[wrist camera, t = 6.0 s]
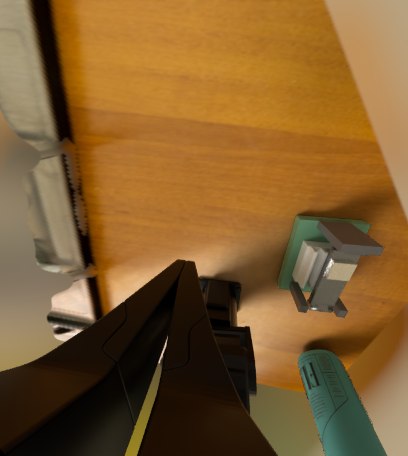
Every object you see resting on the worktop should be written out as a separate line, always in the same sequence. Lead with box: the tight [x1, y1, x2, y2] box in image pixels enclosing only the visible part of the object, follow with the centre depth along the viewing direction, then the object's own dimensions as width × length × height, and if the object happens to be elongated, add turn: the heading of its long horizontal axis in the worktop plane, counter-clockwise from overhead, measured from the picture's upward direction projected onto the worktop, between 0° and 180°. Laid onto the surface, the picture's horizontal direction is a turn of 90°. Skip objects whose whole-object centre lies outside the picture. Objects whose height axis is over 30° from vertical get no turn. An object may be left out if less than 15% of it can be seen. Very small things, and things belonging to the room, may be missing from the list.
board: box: [277, 215, 384, 318], centre depth 20 cm, size 10×7×6 cm
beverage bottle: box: [298, 349, 387, 456], centre depth 22 cm, size 6×7×20 cm
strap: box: [307, 247, 361, 313], centre depth 19 cm, size 8×2×1 cm, turn 178°
